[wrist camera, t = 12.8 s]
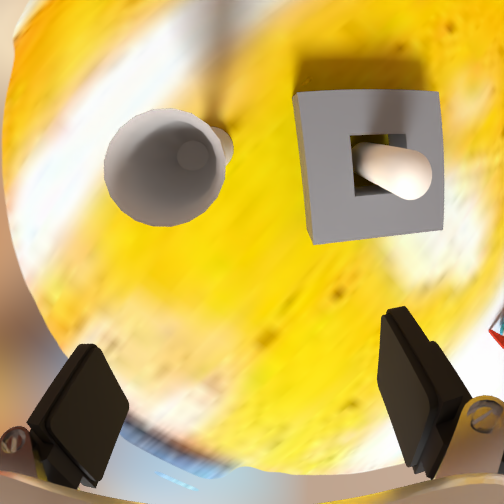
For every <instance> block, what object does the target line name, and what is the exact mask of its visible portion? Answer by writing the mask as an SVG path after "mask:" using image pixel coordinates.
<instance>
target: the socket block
mask: <svg viewBox="0 0 504 504" xmlns="http://www.w3.org/2000/svg"><path fill="white" fill-rule="evenodd" d="M292 100H293V107H294V115H295V122H296V130H297V138H298V146H299V155H300V164H301V173H302V182H303V192H304V202H305V213H306V224H307V231H308V233H309V236H310V238H311V240H312V242H313V245H317V244H326V243H334V242H343V241H351V240H360V239H368V238H377V237H385V236H394V235H402V234H411V233H420V232H428V231H437V230H443V219H444V152H443V134H442V121H441V110H440V101H439V92H434V91H419V90H393V89H352V90H325V91H309V92H297V93H296V94H295V95H294V96H293V97H292ZM372 134H388V139H389V146H394V147H399V148H405V149H410V150H415V151H418V152H420V153H422V154H423V155H424V156H425V157H426V158H427V159H428V161H429V163H430V165H431V169H432V181H431V184H430V187H429V189H428V190H427V192H426V193H425V194H424V195H423V196H421V197H420V198H418V199H415V200H406V199H403V198H401V197H399V196H397V195H395V194H393V193H392V192H390V191H388V190H386V189H384V188H382V187H380V186H378V185H367V186H355V187H354V178H353V164H352V153H351V142H350V136H351V135H372Z"/></svg>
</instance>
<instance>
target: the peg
mask: <svg viewBox="0 0 504 504" xmlns="http://www.w3.org/2000/svg"><path fill="white" fill-rule="evenodd" d="M351 153H352V164H353V171H354V172H355V173H356V174H357V175H359V176H361V177H363V178H365V179H367V180H369V181H371V182H373V183H375V184H377V185H378V186H380V187H382V188H384V189H386V190H388V191H390V192H392V193H393V194H395V195H397V196H399V197H401V198H403V199H406V200H415V199H418V198H420V197H421V196H423V195H424V194H425V193H426V192H427V190H428V189H429V187H430V184H431V181H432V169H431V165H430V163H429V161H428V159H427V158H426V157H425V156H424V155H423V154H422V153H420V152H418V151H415V150H410V149H405V148H399V147H394V146H388V145H382V144H376V143H369V142H361V143H358V144H357V145H355V146H354V147H353V148H352V150H351Z"/></svg>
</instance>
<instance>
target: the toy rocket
mask: <svg viewBox="0 0 504 504" xmlns="http://www.w3.org/2000/svg"><path fill="white" fill-rule="evenodd" d="M489 333H490V334H491V335H492V336H493V338H494V339H495V340H496V341H497V342H498V344H499V345H500V346H501V347H502V348H503V349H504V324H503V325H502V327H501V329H500V334H498V333H496V332H495V331H493V330H489Z"/></svg>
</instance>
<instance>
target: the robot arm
mask: <svg viewBox="0 0 504 504" xmlns="http://www.w3.org/2000/svg"><path fill="white" fill-rule="evenodd" d="M377 382H378V387H379V390H380V393H381V395H382V398H383V401H384V403H385V406H386V409H387V412H388V414H389V417H390V420H391V423H392V425H393V428H394V431H395V434H396V437H397V440H398V443H399V446H400V449H401V451H402V454H403V457H404V461H405V463H406V466H407V467H411V466H412V467H413V470H414V473H415V474H417V473H421V472H424V471H425V473H426V476H427V477H428V478H430V480H429V481H424V482H420V483H416V484H412V485H408V486H404V487H400V488H396V489H392V490H388V491H383V492H379V493H375V494H370V495H366V496H361V497H356V498H350V499H344V500H339V501H332V502H326V503H319V504H504V402H503V401H501V400H500V399H499V398H496V397H493V396H486V395H483V396H478V397H475V398H472V396H471V395H470V393H469V392H468V390H467V388H466V387H465V385H464V383H463V382H462V380H461V379H460V377H459V376H458V374H457V372H456V371H455V369H454V368H453V366H452V365H451V363H450V362H449V360H448V359H447V357H446V356H445V354H444V353H443V351H442V350H441V348H440V347H439V345H438V344H437V343H436V342H434V341H431V342H430V341H429V340H428V338H427V337H426V335H425V334H424V332H423V331H422V329H421V328H420V326H419V325H418V323H417V322H416V321H415V319H414V318H413V316H412V315H411V313H410V312H409V311H408V309H407V308H406V307H405V306H402V307H397V308H392V309H388V310H387V312H386V315H382V317H381V332H380V349H379V362H378V374H377ZM128 410H129V402H128V400H127V398H126V396H125V394H124V393H123V391H122V389H121V387H120V385H119V384H118V382H117V380H116V378H115V376H114V374H113V372H112V370H111V368H110V367H109V365H108V363H107V361H106V359H105V357H104V355H103V353H102V351H101V349H100V348H98V347H97V346H96V345H95V344H80V345H78V346H77V348H76V349H75V350H74V352H73V353H72V355H71V356H70V358H69V359H68V360H67V362H66V363H65V365H64V366H63V368H62V369H61V370H60V372H59V374H58V375H57V376H56V378H55V379H54V381H53V382H52V384H51V385H50V387H49V388H48V390H47V391H46V393H45V394H44V396H43V397H42V399H41V401H40V402H39V403H38V405H37V407H36V408H35V410H34V411H33V413H32V414H31V416H30V418H29V419H28V421H27V424H28V425H29V426H30V428H31V430H30V432H29V431H28V430H27V429H26V428H25V427H22V426H16V427H12V428H10V429H9V430H7V431H6V432H5V433H4V434H3V435H2V436H1V438H0V504H145V503H139V502H133V501H127V500H121V499H115V498H110V497H105V496H101V495H96V494H92V493H87V492H84V491H80V489H79V484H80V483H81V484H82V485H84V486H88V487H92V488H96V486H97V483H98V481H100V480H101V479H102V478H103V475H104V472H105V469H106V467H107V464H108V461H109V459H110V456H111V454H112V451H113V448H114V446H115V443H116V441H117V438H118V436H119V433H120V430H121V428H122V425H123V423H124V420H125V418H126V415H127V413H128Z"/></svg>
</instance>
